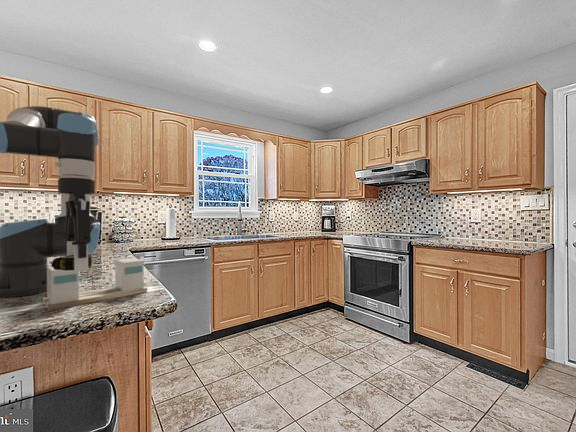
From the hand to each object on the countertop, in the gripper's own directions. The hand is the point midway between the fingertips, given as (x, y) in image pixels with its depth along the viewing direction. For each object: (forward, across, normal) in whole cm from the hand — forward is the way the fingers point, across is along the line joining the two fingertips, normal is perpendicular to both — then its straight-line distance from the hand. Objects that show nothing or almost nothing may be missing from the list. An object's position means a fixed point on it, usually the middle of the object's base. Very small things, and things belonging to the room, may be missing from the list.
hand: (77, 268), depth 74 cm
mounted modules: (+11, -14, +8) cm, 19 cm away
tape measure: (+1, 0, -1) cm, 1 cm away
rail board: (+12, -14, +8) cm, 20 cm away
